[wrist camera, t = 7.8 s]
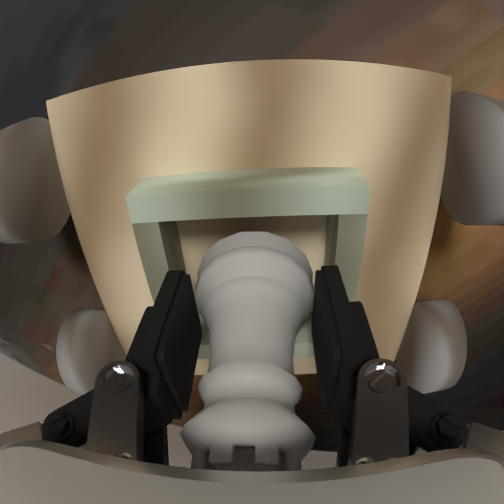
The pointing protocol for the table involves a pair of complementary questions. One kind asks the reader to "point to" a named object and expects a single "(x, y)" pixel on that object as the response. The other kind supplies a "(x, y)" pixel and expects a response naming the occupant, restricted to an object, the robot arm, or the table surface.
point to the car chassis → (259, 192)
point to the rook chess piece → (251, 355)
